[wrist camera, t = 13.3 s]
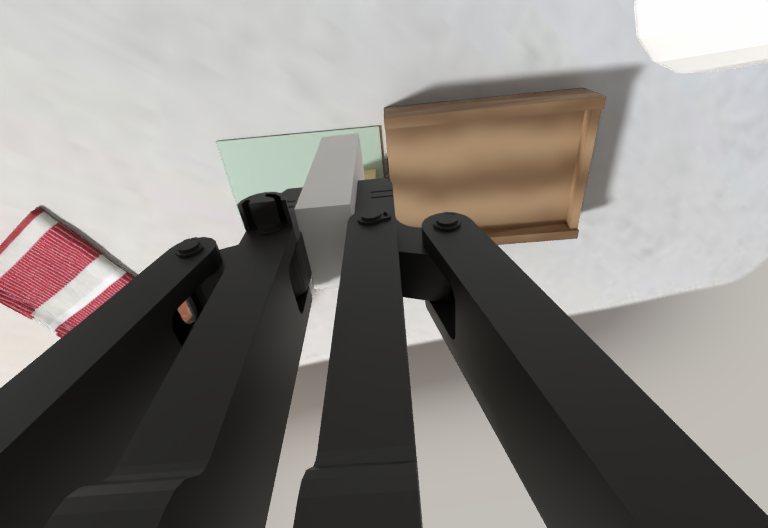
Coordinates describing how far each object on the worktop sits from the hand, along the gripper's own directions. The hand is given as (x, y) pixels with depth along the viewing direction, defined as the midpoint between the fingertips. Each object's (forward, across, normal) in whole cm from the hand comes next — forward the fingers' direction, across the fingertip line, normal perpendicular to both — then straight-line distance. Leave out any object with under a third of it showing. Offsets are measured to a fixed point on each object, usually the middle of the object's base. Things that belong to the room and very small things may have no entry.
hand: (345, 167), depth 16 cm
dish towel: (+27, -41, -25) cm, 55 cm away
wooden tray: (+26, +12, -11) cm, 30 cm away
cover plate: (+27, -8, -11) cm, 30 cm away
